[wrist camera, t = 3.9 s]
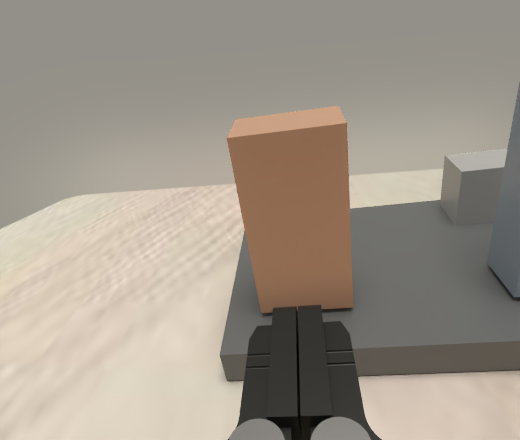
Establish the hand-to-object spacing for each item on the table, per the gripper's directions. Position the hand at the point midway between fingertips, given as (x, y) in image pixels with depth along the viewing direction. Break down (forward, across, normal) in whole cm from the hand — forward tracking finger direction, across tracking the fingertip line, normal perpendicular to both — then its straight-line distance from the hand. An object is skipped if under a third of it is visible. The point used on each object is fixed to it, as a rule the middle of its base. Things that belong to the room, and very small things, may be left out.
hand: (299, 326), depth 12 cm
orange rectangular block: (+8, 0, +6) cm, 10 cm away
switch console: (+11, -6, +8) cm, 15 cm away
